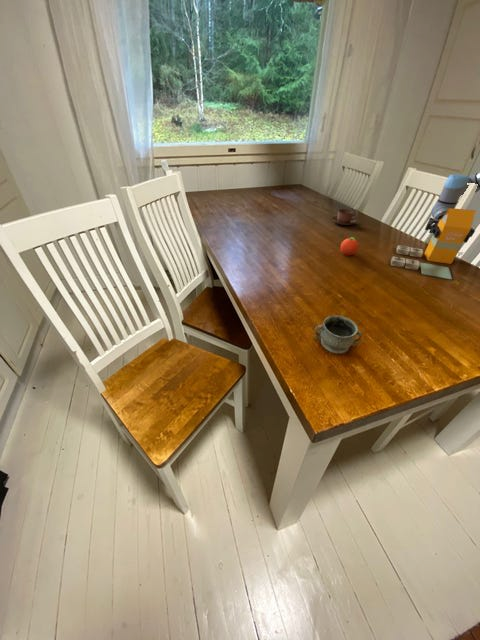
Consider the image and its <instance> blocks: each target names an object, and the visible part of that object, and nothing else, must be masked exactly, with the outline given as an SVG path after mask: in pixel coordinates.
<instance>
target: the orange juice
mask: <svg viewBox="0 0 480 640" xmlns="http://www.w3.org/2000/svg"><path fill="white" fill-rule="evenodd" d="M475 214H476V210H474V209H464V208H449V209H448V211H447V212H446V213H445V214H444V216H443V217H442V218H441V219H440V221H439V223H438V225H437V226H438V227H439V230H440V232H439V234H438V236H437V238H434V234H433V233H432V235H431V237H430V240H429V242H428V244H427V247H426V248H425V251H424V252H423V254H424V256H425V258H426V260H427V261H428V262H433V263H434V262H435V263H442V264H448V265H452V264H453V262H454V260H455V259H456V257H457V256H458V253H459V251H460V250H461V248H462V246H463V244H464V243H465V242H464V240H465V238H466V236H467V235H468V233H469V231H470V229H471V228H472V225H473V223H474V222H473V221H474V219H475V218H474V217H475Z"/></svg>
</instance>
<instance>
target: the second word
mask: <svg viewBox="0 0 480 640" xmlns="http://www.w3.org/2000/svg"><path fill="white" fill-rule="evenodd" d="M390 266H392V267H393V266H394V267H399V268H405V269H409V270H414V271H418V270H419V268H420V272H421V275H424V276H429V277H435V278H441V279H445V280H451V281H452V280H453V278H452V274H451V271H450V268H449V267H447V266H442V265H437V264H431V263H425V262H420V261H419V260H416V259H411V258H405V257H400V256H394V255H393V256H392V257H391V260H390Z"/></svg>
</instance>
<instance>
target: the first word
mask: <svg viewBox="0 0 480 640" xmlns="http://www.w3.org/2000/svg"><path fill="white" fill-rule="evenodd" d="M396 254H398V255H404V256H410V257H415V258H422V256H423V254H424V251H423V249H422V248H418V247H413V246H412V247H410V246H406V245H397V247H396Z"/></svg>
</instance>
